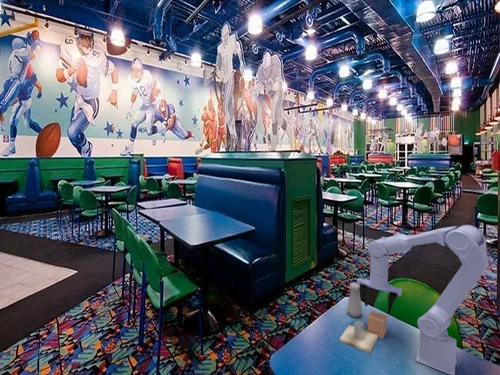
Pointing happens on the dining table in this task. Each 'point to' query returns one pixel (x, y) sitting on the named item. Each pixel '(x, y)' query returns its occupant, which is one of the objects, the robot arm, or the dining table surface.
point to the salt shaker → (354, 301)
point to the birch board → (363, 344)
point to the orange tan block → (377, 323)
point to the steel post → (359, 330)
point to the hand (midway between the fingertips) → (377, 308)
